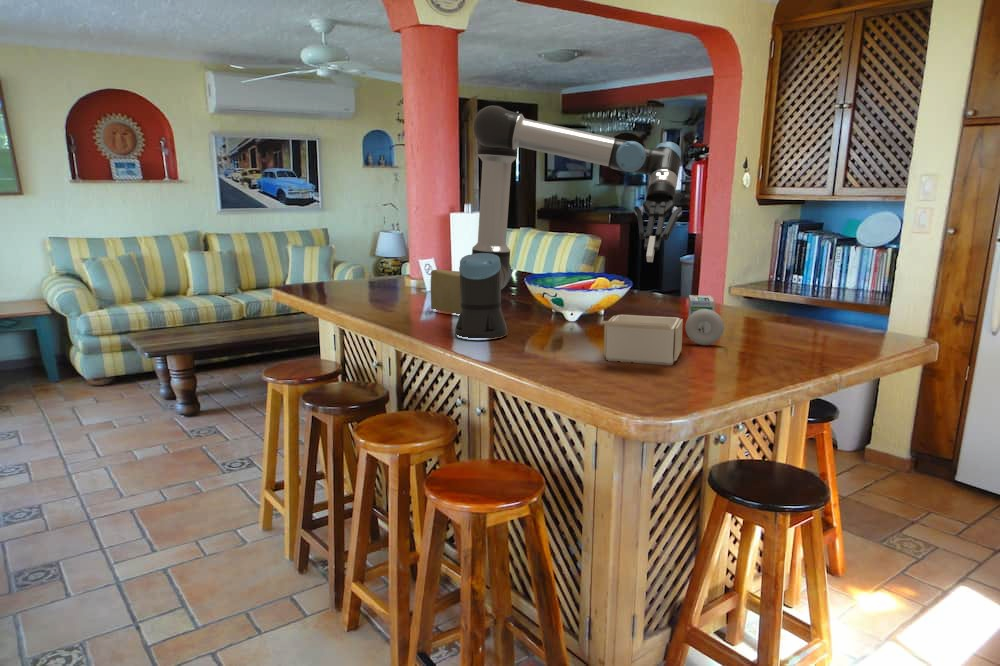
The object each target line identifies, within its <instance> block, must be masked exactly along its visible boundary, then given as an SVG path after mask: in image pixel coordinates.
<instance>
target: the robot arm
mask: <svg viewBox="0 0 1000 666" xmlns="http://www.w3.org/2000/svg"><path fill="white" fill-rule="evenodd" d="M472 132H473V135H474V137H475V140H476V141H477V142H478V145H477V157H478V158H479V159H480V160H481V162H482V163H481V165H482V167H481V179H480V180H481V182H480V183H481V184H480V199H479V217H478V232H477V233H478V234H477V243H476V244H475V245H474V246H472V249H471V254H468V255H465V256H463V257H461V259H460V260H459V266H458V267H459V268H458V271H459V272H460V295H461V312H460V315H459V317H458V318H457V322H456V325H455V329H454V330H455V335H456V334H457V335H459V336H462V337H468V338H495V337H501V336H504V335H506V334H507V335H508V326H507V323H506V320H505V316H504V314H503V312H502V311H503V310H502V298H501V295H502V293H501V292H502V290H503V289H505V287H506V286H507V285H508V283H509V282H510V280H511V277H512V266H511V263H510V261H511V249H510V247H509V246H508V245H507V234H508V233H507V231H508V220H509V218H508V217H509V204H510V203H509V202H510V191H511V190H510V187H511V177H512V176H511V174H512V163H514V161H515V160H517V158H518V148H523V149H526V150H530V151H531V150H532V151H536V152H540V153H544V154H545V153H546V154H549V155H555V156H558V157H564V158H568V159H571V160H577V161H582V162H587V163H591V164H596V165H601V166H606V167H609V168H610V169H613V170H616V171H620V172H628V173H634V174H639V175H640V174H641V175H647V176H650V177H649V180H648V181H649V182H648V188H647V191H646V197H645V201H644V202H643V204H642V205H640V206H638V205H637V206H634V207H633V211H634V215H635V217H636V218H637V223H638V233H639V239H640V240H644V243H643V247H644V250H645V251H646V253H645V254H646V255H645V257H646V262H647V263H653V262H654V258H655V257H654V256H655V252H656V251H659V250H660V245H661V241H663V240H664V241H667V240H669V238H670V235H671V234H672V232H673V229H674V227H675V226H676V224H677V221H678V220H679V218H681V217H682V216H683V211H682V210H683V209H682V207H681V206H679V207H677V206H675V205H676V204H675V197H676V190H677V186H678V179H679V173H680V168H681V162H682V160H681V159H682V150H681V147H680V146H679V145H678V144H677V143H675V142H672V141H665V142H661V143H659V144H657V146H656V147H647V146H643V145H642V144H641V143H639V142H638V141H635V140H625V139H619V138H615V137H611V136H607V135H602V134H596V133H593V132H587V131H583V130H580V129H579V130H578V129H576V128H575V129H574V128H569V127H565V126H562V125H561V126H560V125H555V124H551V123H547V122H542V121H539V120H538V121H537V120H533V119H528V118H525V117H524V115H523V113H518V112H516V111H515V112H514V111H511V110H508V109H506V108H504V107H502V106H500V105H488V106H485V107H483V108H482V109H480V110H479V111H478V112H477V113H476V115H475V116H474V119H473V122H472ZM644 212H645V213H646V215H647V216H648V220H647V226H646V232H645V230H644V222H643V221H644V220H643V215H644ZM670 214H671V216H670V218H669V219H668V222H667V223H666V226H665V228H664V223H665V219H666V218H667V217H668V216H669V215H670ZM656 219H657V225H656V230H655V235H653V230H654V225H655V221H656Z"/></svg>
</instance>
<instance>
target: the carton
mask: <svg viewBox="0 0 1000 666" xmlns="http://www.w3.org/2000/svg"><path fill="white" fill-rule="evenodd" d="M607 321H618V322H636V323H654V324H668V325H669V326H670V327H671V330H658V329H641V328H623V327H608V326H606V325H605V324H603V325H604V329H603V330H604V331H603V333H604V334H603V341H604V342H603V357H604V356H605V360H608V361H607V362H617V361H620V362H621V363H631V362H633V364H646V365H648V364H649V365H659V366H673V364H674V363H675V362H677V360H678V358H679V356H680V353H681V352H682V349H683V348H682V345H683V326H684V325H683V324H684V323H683V321H684V319H683V318H680V317H675V316H673V317H672V316H655V315H653V316H652V315H637V314H617V315H613V316H612V317H611V318H609V319H608V320H607Z"/></svg>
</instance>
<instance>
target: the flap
mask: <svg viewBox="0 0 1000 666" xmlns="http://www.w3.org/2000/svg"><path fill="white" fill-rule="evenodd" d="M601 324H603V325H604V324H605V325H606V326H608V327H623V328H641V329H658V330H671V327H670V326H669V325H668V324H654V323H636V322H618V321H608V320H601Z"/></svg>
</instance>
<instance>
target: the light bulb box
mask: <svg viewBox="0 0 1000 666" xmlns="http://www.w3.org/2000/svg"><path fill="white" fill-rule="evenodd" d="M700 309H709V310H712V311H714V312H716V301H715V299H714V298H713V295H699V294H698V295H697V294H696V295H695V294H689V295H688V317H689V316H690V315H691V314H692V313H693V312H695V311H697V310H700ZM688 317H687V318H688ZM698 329H699V331H700V332H702V333H708V332H709V331H710V330H711V325H710V323H708V322H706V321H703V322H701V323H699V325H698Z"/></svg>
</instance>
